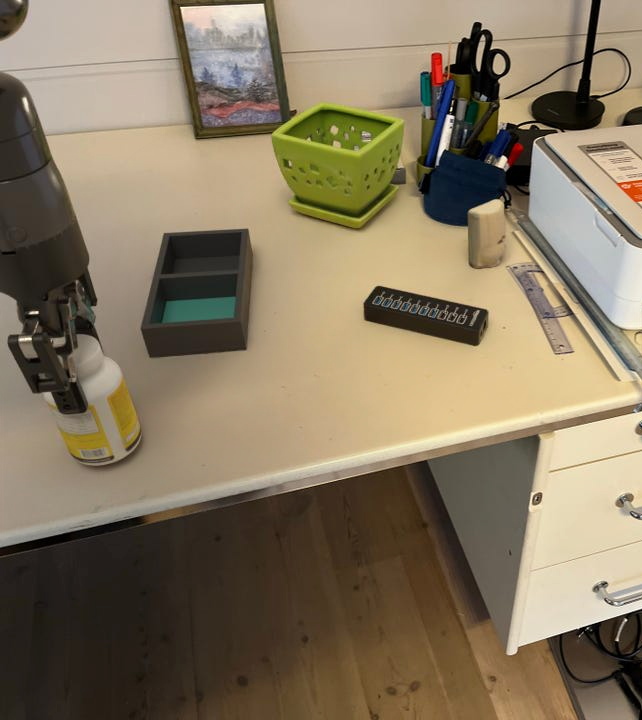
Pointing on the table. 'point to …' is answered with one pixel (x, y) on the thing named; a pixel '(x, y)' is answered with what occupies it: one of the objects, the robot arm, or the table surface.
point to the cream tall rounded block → (486, 234)
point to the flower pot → (339, 162)
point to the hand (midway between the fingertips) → (83, 383)
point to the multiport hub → (426, 315)
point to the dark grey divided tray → (199, 294)
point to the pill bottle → (98, 409)
